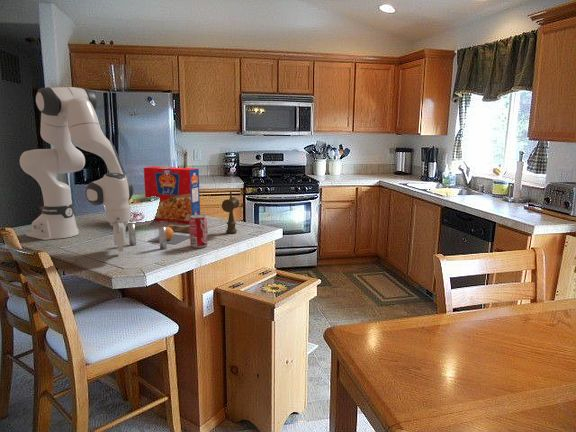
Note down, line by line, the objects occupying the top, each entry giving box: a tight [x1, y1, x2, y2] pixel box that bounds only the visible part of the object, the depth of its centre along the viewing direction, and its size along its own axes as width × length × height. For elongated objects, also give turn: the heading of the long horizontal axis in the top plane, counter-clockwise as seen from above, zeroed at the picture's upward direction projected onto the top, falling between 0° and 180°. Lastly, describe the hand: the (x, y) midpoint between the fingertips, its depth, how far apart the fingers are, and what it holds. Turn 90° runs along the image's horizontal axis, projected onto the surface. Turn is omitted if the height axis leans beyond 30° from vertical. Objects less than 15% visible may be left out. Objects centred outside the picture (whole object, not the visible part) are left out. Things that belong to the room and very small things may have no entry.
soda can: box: [188, 214, 209, 249], centre depth 176 cm, size 7×7×13 cm
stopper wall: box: [167, 224, 208, 234], centre depth 201 cm, size 20×2×2 cm, turn 71°
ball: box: [165, 226, 175, 240], centre depth 186 cm, size 6×6×6 cm
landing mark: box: [148, 233, 190, 245], centre depth 189 cm, size 14×14×1 cm
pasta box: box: [143, 165, 201, 225], centre depth 223 cm, size 28×8×28 cm, turn 70°
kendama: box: [221, 190, 240, 234], centre depth 199 cm, size 6×10×20 cm, turn 169°
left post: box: [127, 223, 137, 247], centre depth 178 cm, size 3×3×9 cm
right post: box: [158, 225, 168, 250], centre depth 173 cm, size 3×3×9 cm
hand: (121, 250), depth 165 cm, fingers closed
